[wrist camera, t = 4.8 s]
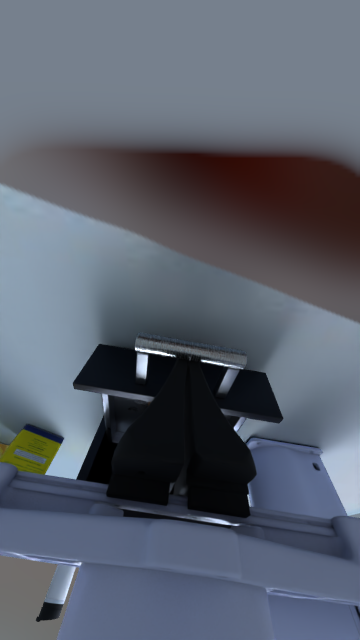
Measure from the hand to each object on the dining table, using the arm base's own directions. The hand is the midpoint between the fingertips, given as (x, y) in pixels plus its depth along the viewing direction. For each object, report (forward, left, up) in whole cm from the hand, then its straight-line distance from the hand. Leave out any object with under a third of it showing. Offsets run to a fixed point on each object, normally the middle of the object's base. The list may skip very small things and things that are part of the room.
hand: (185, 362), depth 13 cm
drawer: (0, +7, -2) cm, 7 cm away
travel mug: (+24, +105, -3) cm, 108 cm away
